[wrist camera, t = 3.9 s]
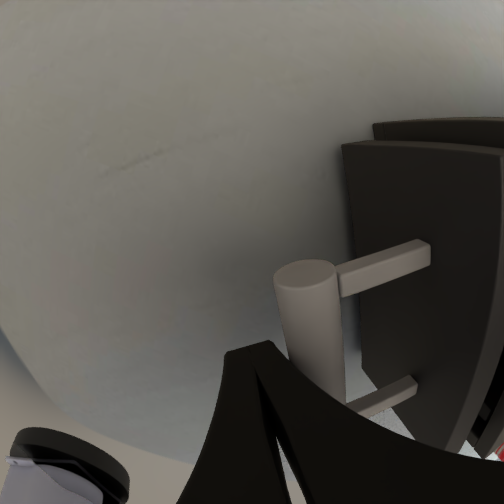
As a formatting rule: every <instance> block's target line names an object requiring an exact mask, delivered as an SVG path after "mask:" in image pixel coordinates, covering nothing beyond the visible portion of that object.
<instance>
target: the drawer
mask: <svg viewBox="0 0 504 504" xmlns="http://www.w3.org/2000/svg"><path fill="white" fill-rule="evenodd" d="M341 148H342V153H343V159H344V165H345V171H346V177H347V184H348V191H349V198H350V205H351V213H352V221H353V229H354V238H355V248H356V258H357V259H355V260H352V261H349V262H345V263H342V264H339V265H336V266H334V265H333V264H332V263H331V262H329V261H326V260H321V259H306V260H300V261H296V262H292V263H290V264H287V265H285V266H283V267H281V268H280V269H279V270H277V271H276V272H275V274H274V276H273V284H274V289H275V294H276V298H277V303H278V308H279V312H280V317H281V322H282V327H283V332H284V336H285V341H286V346H287V351H288V356H289V361H290V362H291V363H292V364H293V365H294V366H295V367H296V368H297V369H298V370H299V371H301V372H302V373H303V374H304V375H305V376H306V377H308V378H309V379H310V380H311V381H312V382H314V383H315V384H316V385H317V386H318V387H320V388H321V389H322V390H324V391H325V392H326V393H328V394H329V395H331V396H332V397H333V398H335V399H336V400H338V401H339V402H341V403H342V404H344V405H345V406H347V407H348V408H350V409H351V410H353V411H355V412H356V413H358V414H360V415H362V416H363V417H365V418H369V417H371V416H373V415H375V414H378V413H380V412H382V411H384V410H386V409H388V408H390V407H391V408H392V409H393V410H394V412H395V413H396V414H397V416H398V417H399V418H400V420H401V421H402V422H403V424H404V425H405V426H406V428H407V429H408V431H409V432H410V433H411V435H412V436H413V437H414V439H415V440H416V441H418V442H421V443H424V444H426V445H429V446H432V447H435V448H438V449H442V450H445V451H449V452H453V453H458V452H459V451H460V449H461V448H462V446H463V444H464V442H465V440H466V438H467V436H468V434H469V432H470V430H471V428H472V426H473V424H474V422H475V420H476V418H477V415H478V414H479V415H480V416H481V417H482V419H483V420H484V421H487V420H488V419H489V418H490V417H491V416H492V414H493V412H494V410H495V408H496V406H497V404H498V401H499V399H500V397H501V395H502V393H503V390H504V149H503V148H495V147H487V146H477V145H467V144H455V143H441V142H422V141H385V140H367V141H360V142H354V143H347V144H342V145H341ZM358 292H359V298H360V317H361V349H362V369H363V371H364V372H365V373H366V374H367V376H368V377H369V378H370V380H371V381H372V382H373V384H374V385H375V386H376V388H377V389H378V390H377V391H374V392H372V393H370V394H368V395H365V396H363V397H361V398H358V399H356V400H354V401H351V402H349V403H346V388H345V366H344V349H343V335H342V322H341V310H340V300H339V295H340V296H341V297H347V296H350V295H353V294H356V293H358Z"/></svg>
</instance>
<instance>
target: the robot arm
mask: <svg viewBox="0 0 504 504" xmlns="http://www.w3.org/2000/svg"><path fill="white" fill-rule="evenodd" d="M276 437H277V439H278V441H279V444H280V446H281V448H282V450H283V452H284V454H285V457H286V459H287V461H288V463H289V465H290V467H291V469H292V471H293V473H294V475H295V477H296V480H297V482H298V484H299V486H300V488H301V490H302V493H303V495H304V497H305V500H306V503H307V504H504V462H502V461H494V460H486V459H481V458H475V457H470V456H465V455H461V454H457V453H453V452H449V451H445V450H442V449H438V448H435V447H432V446H429V445H426V444H424V443H421V442H418V441H415V440H413V439H410V438H407V437H405V436H402V435H400V434H397V433H395V432H393V431H391V430H389V429H387V428H384V427H382V426H380V425H378V424H376V423H374V422H372V421H371V420H369V419H367V418H365V417H363V416H362V415H360V414H358V413H356V412H355V411H353V410H351V409H350V408H348V407H347V406H345V405H344V404H342V403H341V402H339V401H338V400H336V399H335V398H333V397H332V396H331V395H329V394H328V393H326V392H325V391H324V390H322V389H321V388H320V387H318V386H317V385H316V384H315V383H314V382H312V381H311V380H310V379H309V378H308V377H306V376H305V375H304V374H303V373H302V372H301V371H299V370H298V369H297V368H296V367H295V366H294V365H293V364H292V363H291V362H290V361H289V360H288V359H287V358H286V357H285V356H284V355H283V354H282V353H281V352H280V351H279V349H278V348H277V347H276V346H275V344H274V343H273V342H272V341H270V340H266V341H263V342H259V343H256V344H253V345H249V346H246V347H242V348H239V349H235V350H231V351H228V352H226V354H225V355H224V366H223V374H222V380H221V385H220V390H219V394H218V399H217V403H216V407H215V411H214V414H213V418H212V421H211V424H210V427H209V430H208V433H207V436H206V439H205V442H204V445H203V448H202V450H201V453H200V455H199V458H198V460H197V462H196V465H195V467H194V470H193V471H192V474H191V476H190V478H189V480H188V482H187V484H186V486H185V488H184V490H183V492H182V494H181V496H180V498H179V499H178V501H177V503H176V504H292V503H291V500H290V496H289V492H288V489H287V485H286V480H285V475H284V471H283V466H282V462H281V457H280V453H279V448H278V444H277V439H276ZM5 460H6V461H7V462H8V463H9V464H10V468H9V470H8V474H7V476H6V479H5V482H4V486H3V489H2V492H1V496H0V504H121V500H120V499H119V498H117V497H116V496H115V495H114V494H112V493H111V492H110V491H109V490H108V489H106V488H105V487H104V486H103V485H102V484H101V483H100V482H98V481H97V480H96V479H95V478H94V477H93V476H92V475H91V474H90V473H88V472H87V471H86V470H85V469H84V468H83V467H82V466H81V465H80V464H79V463H78V462H77V461H75V460H60V459H36V458H23V457H13V456H6V458H5Z"/></svg>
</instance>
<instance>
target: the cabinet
mask: <svg viewBox="0 0 504 504" xmlns="http://www.w3.org/2000/svg"><path fill="white" fill-rule="evenodd" d="M373 128H374V134H375V140H385V141H422V142H441V143H455V144H467V145H477V146H487V147H495V148H503V149H504V118H501V117H460V118H434V119H417V120H404V121H392V122H382V123H374V124H373ZM466 440H467V441H468V442H469V444H470V445H471V446H472V447H474V450H475V451H476V452H477V453H478V455H479V456H480V457H481V458H482V459H485V458H486V457H488V456H489V455H490V454H491V453H492V452H494V451H495V450H496V449H497V448H498V447H499V446H501V445H502V444H503V443H504V390H503V393H502V395H501V397H500V399H499V401H498V404H497V406H496V408H495V410H494V412H493V414H492V416H491V417H490V418H489V419H488V420H487V421H484V420H483V419H482V417H481V416H480V415H479V414H478V415H477V418H476V420H475V422H474V424H473V426H472V428H471V430H470V432H469V434H468V436H467V438H466Z"/></svg>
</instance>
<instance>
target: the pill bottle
mask: <svg viewBox="0 0 504 504" xmlns="http://www.w3.org/2000/svg"><path fill="white" fill-rule="evenodd" d="M494 453H495V454H496V455H497V456H498V457H499V458H500V459H501V461H502V462H504V443H503V444H502V445H501V446H499V447H498V448H497V449H496V450H495V451H494Z"/></svg>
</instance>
